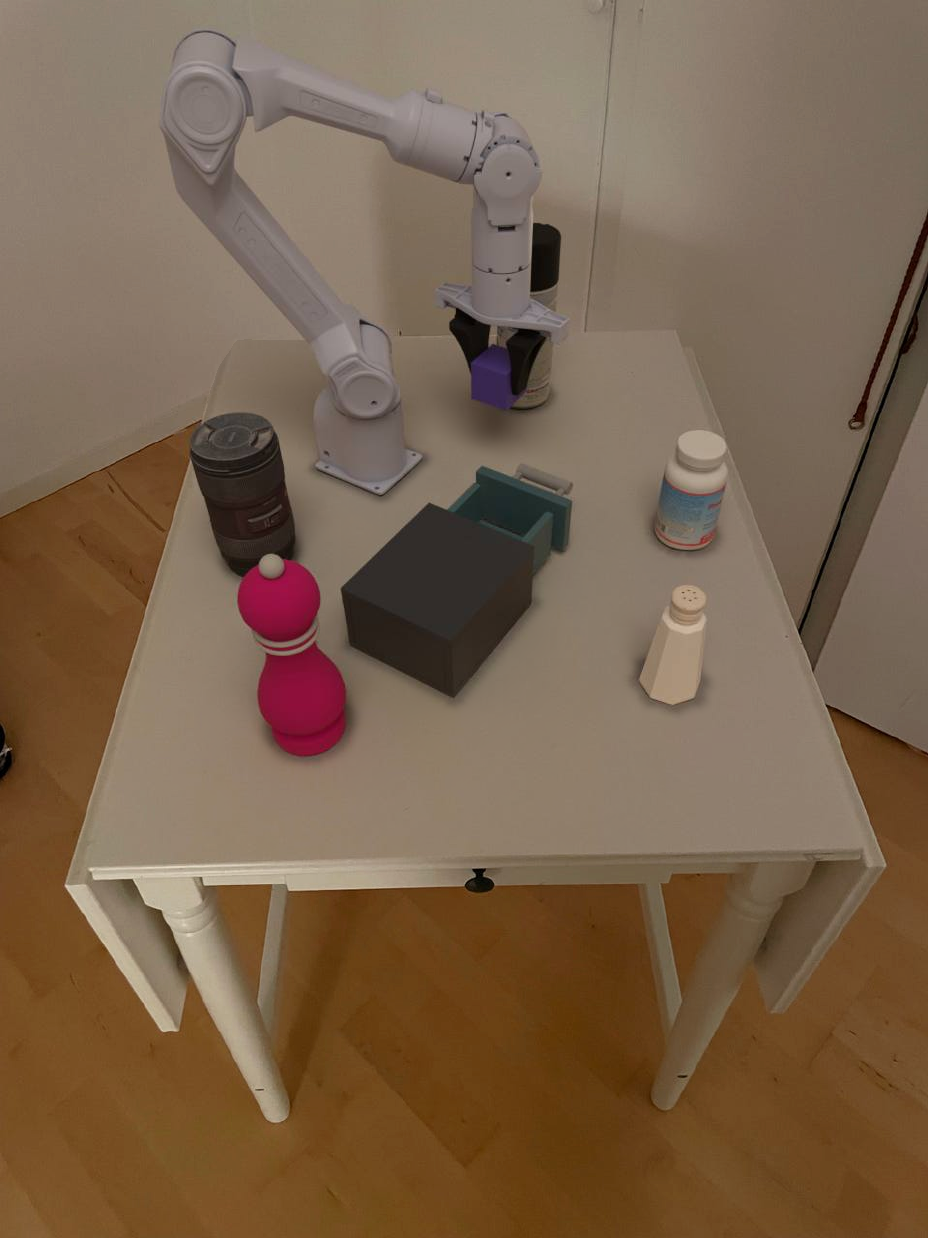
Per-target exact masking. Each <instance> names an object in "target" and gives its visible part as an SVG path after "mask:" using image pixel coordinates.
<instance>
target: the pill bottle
mask: <svg viewBox="0 0 928 1238" xmlns="http://www.w3.org/2000/svg"><path fill="white" fill-rule="evenodd" d="M674 452H675V453H674V454H672V456H670V457H669V459H667V462H666V463H665V465H664V470H663V471H664V472H663V477H662V483H661V488H660V492H659V493H660V494H659V499H658V503H657V509H656V516H655V522H654V532H655V535H656V536H657V538H658V540H660V541H661V542H662V543H663V544H664V545H666V546H668V547H670V548H672V549H677V550H681V551H682V550H684V551H695V550H700V549H703V548H705V547H707V546H708V545H709V544H710V543H711V542H712V540H713V538H714V537H715V533H716V529H717V524H718V521H719V516H720V512H721V508H722V504H723V500H724V496H725V490H726V488H727V487H726V486H727V483H728V477H729V471H728V467H727V465H726V463H725V458H726V452H727V443H726V441H725V439H723V438H722V437H721V436H720V435H718V434H716V433H714V432H713V431H709V430H703V429H695V430H694V429H693V430H688V431H686V432H683V434H681V435H680V436H679V438H678V439H677V441H676V446H675V451H674Z"/></svg>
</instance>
